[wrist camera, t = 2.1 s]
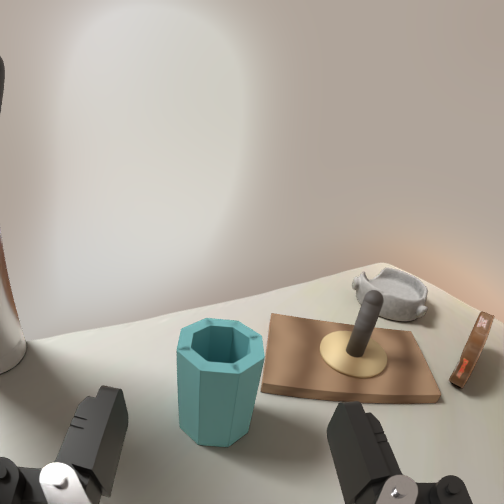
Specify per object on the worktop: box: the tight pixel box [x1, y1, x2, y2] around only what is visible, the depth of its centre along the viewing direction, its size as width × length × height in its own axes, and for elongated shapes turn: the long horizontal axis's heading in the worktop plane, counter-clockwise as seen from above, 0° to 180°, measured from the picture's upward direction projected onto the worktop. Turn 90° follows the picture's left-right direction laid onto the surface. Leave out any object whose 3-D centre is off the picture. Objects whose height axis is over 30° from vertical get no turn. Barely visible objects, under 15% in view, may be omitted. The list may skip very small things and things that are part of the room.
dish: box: [352, 268, 428, 321], centre depth 52 cm, size 14×14×5 cm
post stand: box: [261, 290, 441, 404], centre depth 34 cm, size 22×14×11 cm, turn 83°
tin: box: [449, 312, 494, 388], centre depth 34 cm, size 15×3×8 cm, turn 129°
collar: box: [177, 318, 265, 447], centre depth 24 cm, size 6×6×10 cm
